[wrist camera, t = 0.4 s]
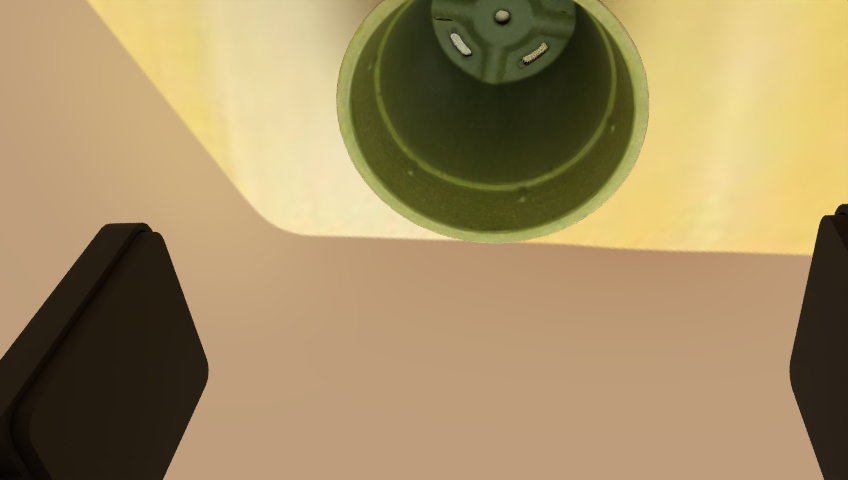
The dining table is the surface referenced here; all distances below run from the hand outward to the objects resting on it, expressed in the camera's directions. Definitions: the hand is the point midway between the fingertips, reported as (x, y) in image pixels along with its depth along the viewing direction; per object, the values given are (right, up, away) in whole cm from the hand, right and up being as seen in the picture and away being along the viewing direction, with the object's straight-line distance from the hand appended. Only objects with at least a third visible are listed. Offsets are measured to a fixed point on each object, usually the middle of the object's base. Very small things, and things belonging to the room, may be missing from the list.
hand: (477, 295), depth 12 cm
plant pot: (+3, +12, +28) cm, 31 cm away
